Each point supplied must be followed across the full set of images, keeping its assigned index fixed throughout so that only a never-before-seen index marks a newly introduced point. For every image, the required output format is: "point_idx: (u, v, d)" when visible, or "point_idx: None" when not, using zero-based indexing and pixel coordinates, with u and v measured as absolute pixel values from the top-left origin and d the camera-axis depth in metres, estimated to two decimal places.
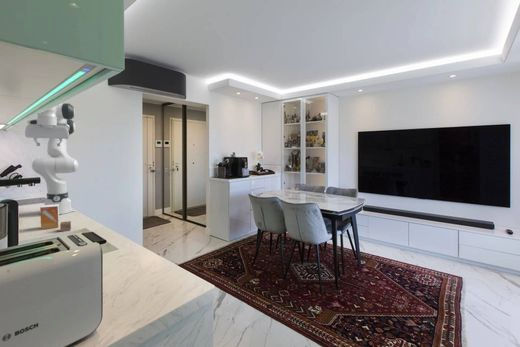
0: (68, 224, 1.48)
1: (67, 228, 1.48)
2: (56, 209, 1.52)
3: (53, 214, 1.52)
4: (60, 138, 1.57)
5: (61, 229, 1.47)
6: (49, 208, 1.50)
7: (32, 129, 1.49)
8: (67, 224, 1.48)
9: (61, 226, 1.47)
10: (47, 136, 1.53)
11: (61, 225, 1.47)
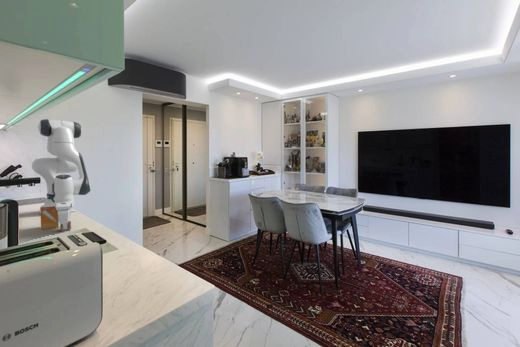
0: (68, 224, 1.48)
1: (67, 228, 1.48)
2: None
3: (53, 214, 1.52)
4: None
5: (61, 229, 1.47)
6: (49, 208, 1.50)
7: None
8: (67, 224, 1.48)
9: (61, 226, 1.47)
10: (69, 217, 1.50)
11: (61, 225, 1.47)
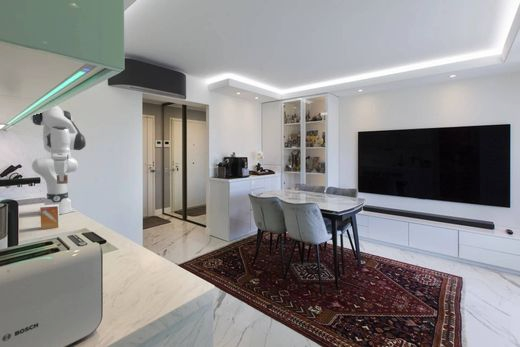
0: (65, 176, 1.46)
1: (64, 180, 1.46)
2: (56, 209, 1.52)
3: (53, 214, 1.52)
4: (66, 170, 1.53)
5: (57, 181, 1.45)
6: (49, 208, 1.50)
7: None
8: (64, 176, 1.46)
9: (57, 178, 1.44)
10: (65, 170, 1.48)
11: (57, 177, 1.44)
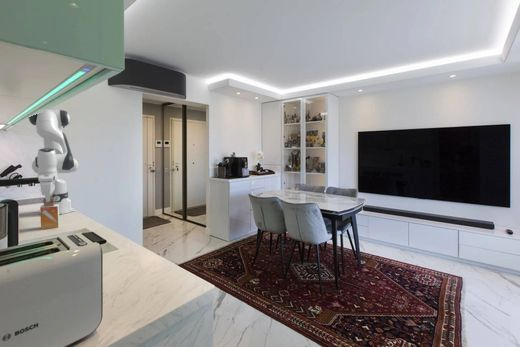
0: (51, 199, 1.51)
1: (50, 203, 1.51)
2: (56, 209, 1.52)
3: (53, 214, 1.52)
4: (53, 190, 1.58)
5: (44, 204, 1.50)
6: (49, 208, 1.50)
7: None
8: (50, 199, 1.51)
9: (44, 201, 1.49)
10: (52, 190, 1.53)
11: (44, 200, 1.49)
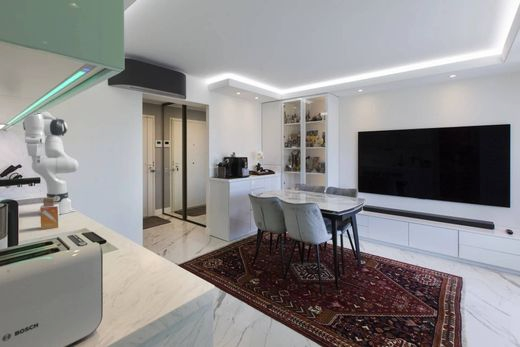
0: (51, 199, 1.51)
1: (50, 203, 1.51)
2: (56, 209, 1.52)
3: (53, 214, 1.52)
4: None
5: (44, 204, 1.50)
6: (49, 208, 1.50)
7: None
8: (50, 199, 1.51)
9: (44, 201, 1.49)
10: (39, 153, 1.54)
11: (44, 200, 1.49)
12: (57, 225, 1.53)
